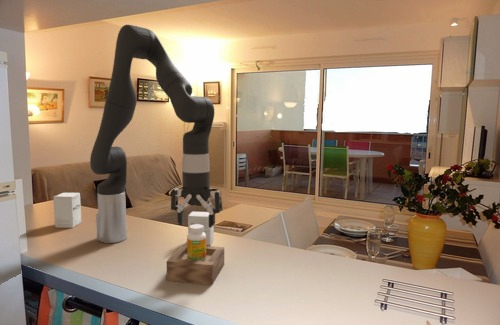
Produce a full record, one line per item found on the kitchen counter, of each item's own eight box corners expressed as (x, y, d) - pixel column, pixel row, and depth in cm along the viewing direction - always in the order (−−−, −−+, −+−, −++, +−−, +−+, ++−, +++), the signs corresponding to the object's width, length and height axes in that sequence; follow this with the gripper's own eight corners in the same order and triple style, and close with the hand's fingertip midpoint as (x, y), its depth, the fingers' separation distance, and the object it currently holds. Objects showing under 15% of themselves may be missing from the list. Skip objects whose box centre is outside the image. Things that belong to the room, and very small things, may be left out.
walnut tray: (167, 280, 100) (166, 261, 99) (183, 261, 112) (183, 244, 111) (212, 284, 97) (212, 265, 97) (224, 264, 110) (224, 247, 109)
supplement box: (73, 228, 142) (71, 196, 140) (54, 227, 142) (52, 196, 140) (82, 222, 149) (80, 192, 148) (64, 222, 150) (62, 192, 148)
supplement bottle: (190, 263, 101) (190, 230, 99) (184, 256, 105) (184, 224, 104) (208, 260, 103) (208, 227, 102) (202, 253, 108) (202, 222, 107)
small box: (213, 240, 131) (213, 211, 129) (210, 245, 125) (210, 216, 124) (192, 239, 131) (191, 211, 130) (188, 244, 126) (187, 215, 124)
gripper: (166, 170, 98) (167, 228, 100) (217, 172, 96) (217, 231, 98) (176, 166, 105) (177, 220, 108) (224, 168, 103) (224, 223, 105)
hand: (196, 225), depth 103 cm, fingers open, 8 cm apart
